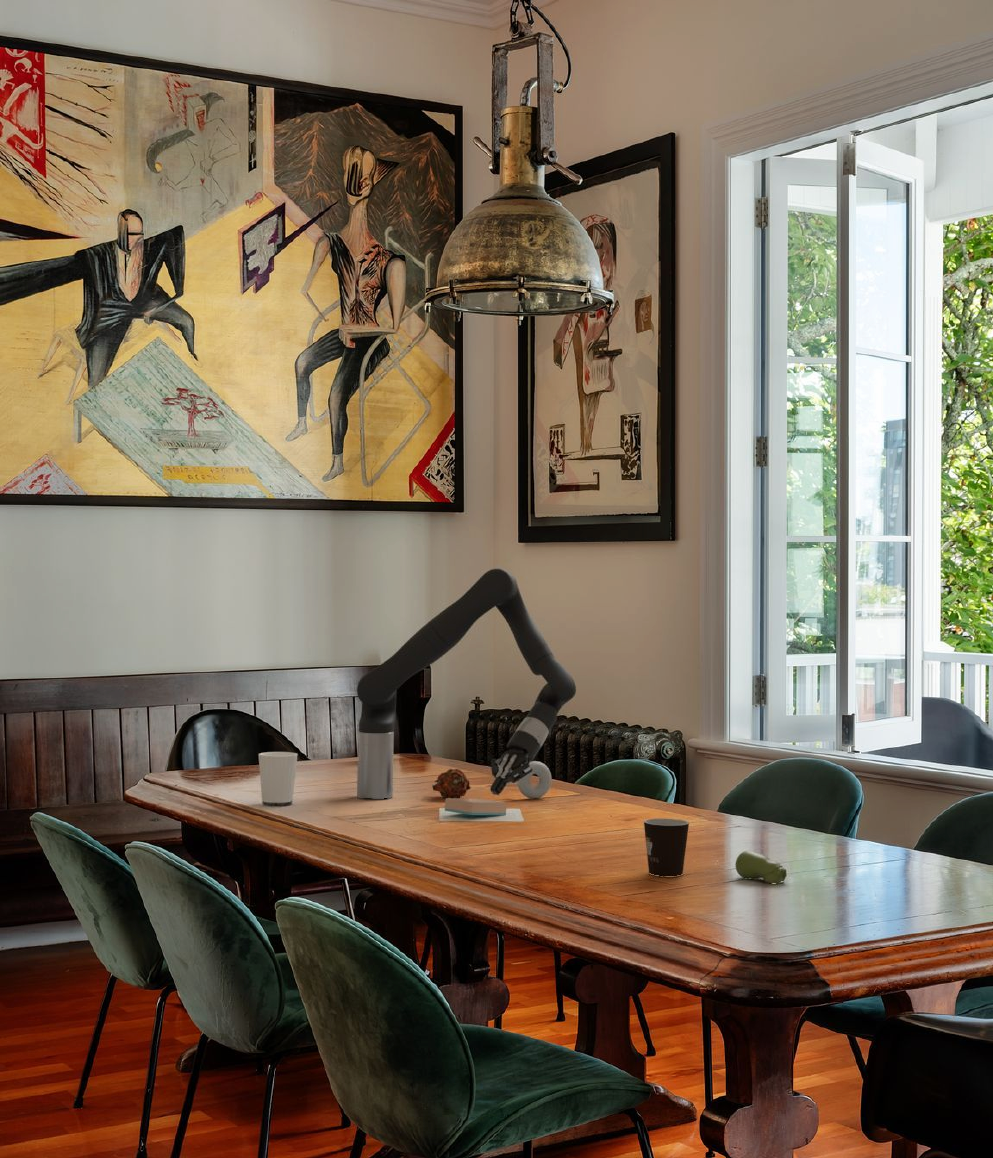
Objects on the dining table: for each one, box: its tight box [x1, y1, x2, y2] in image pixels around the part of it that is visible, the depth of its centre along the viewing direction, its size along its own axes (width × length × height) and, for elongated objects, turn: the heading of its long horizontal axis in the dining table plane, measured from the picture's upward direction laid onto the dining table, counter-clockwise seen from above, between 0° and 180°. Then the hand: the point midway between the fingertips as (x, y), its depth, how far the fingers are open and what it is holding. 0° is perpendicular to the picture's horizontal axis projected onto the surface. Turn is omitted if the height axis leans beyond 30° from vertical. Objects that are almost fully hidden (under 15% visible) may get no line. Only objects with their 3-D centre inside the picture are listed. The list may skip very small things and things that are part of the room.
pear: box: [735, 850, 788, 884], centre depth 257 cm, size 6×5×10 cm
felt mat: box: [438, 807, 525, 823], centre depth 330 cm, size 20×20×1 cm
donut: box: [516, 760, 552, 800], centre depth 361 cm, size 10×4×10 cm, turn 117°
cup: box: [258, 751, 298, 807], centre depth 345 cm, size 10×10×13 cm
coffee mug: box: [643, 817, 690, 876], centre depth 263 cm, size 12×9×10 cm
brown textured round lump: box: [432, 768, 472, 799], centre depth 360 cm, size 8×8×12 cm
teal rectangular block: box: [444, 797, 508, 815], centre depth 328 cm, size 3×9×12 cm
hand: (494, 792), depth 333 cm, fingers closed
